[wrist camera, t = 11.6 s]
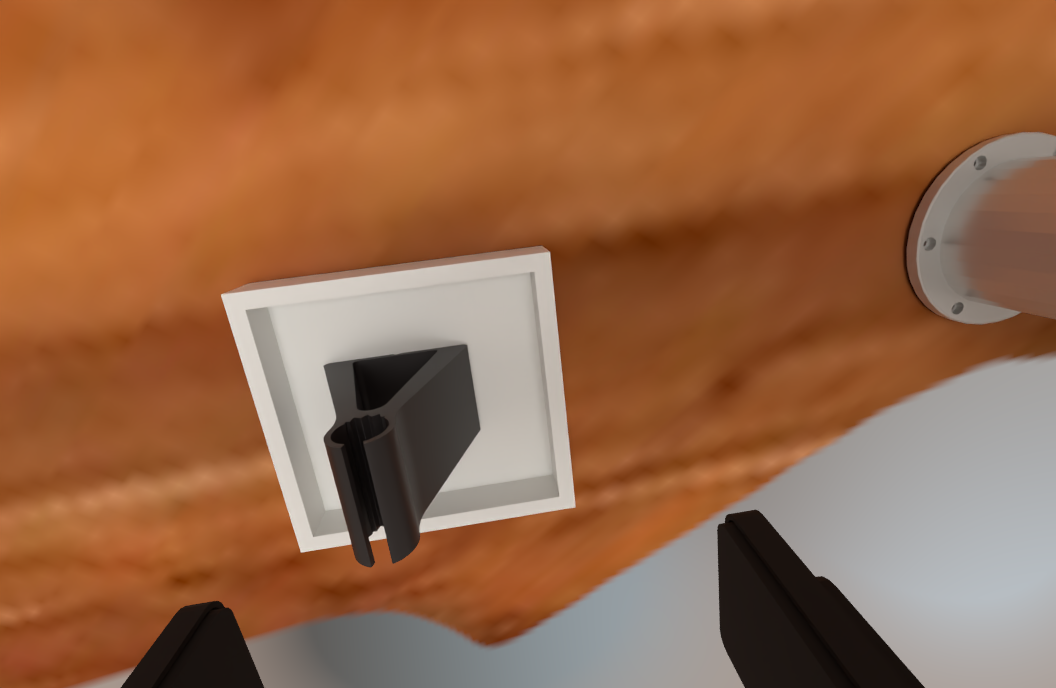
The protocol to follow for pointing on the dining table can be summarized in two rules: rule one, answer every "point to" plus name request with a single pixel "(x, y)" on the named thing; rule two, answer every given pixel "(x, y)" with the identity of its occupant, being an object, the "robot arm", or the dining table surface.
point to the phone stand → (397, 439)
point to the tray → (404, 326)
